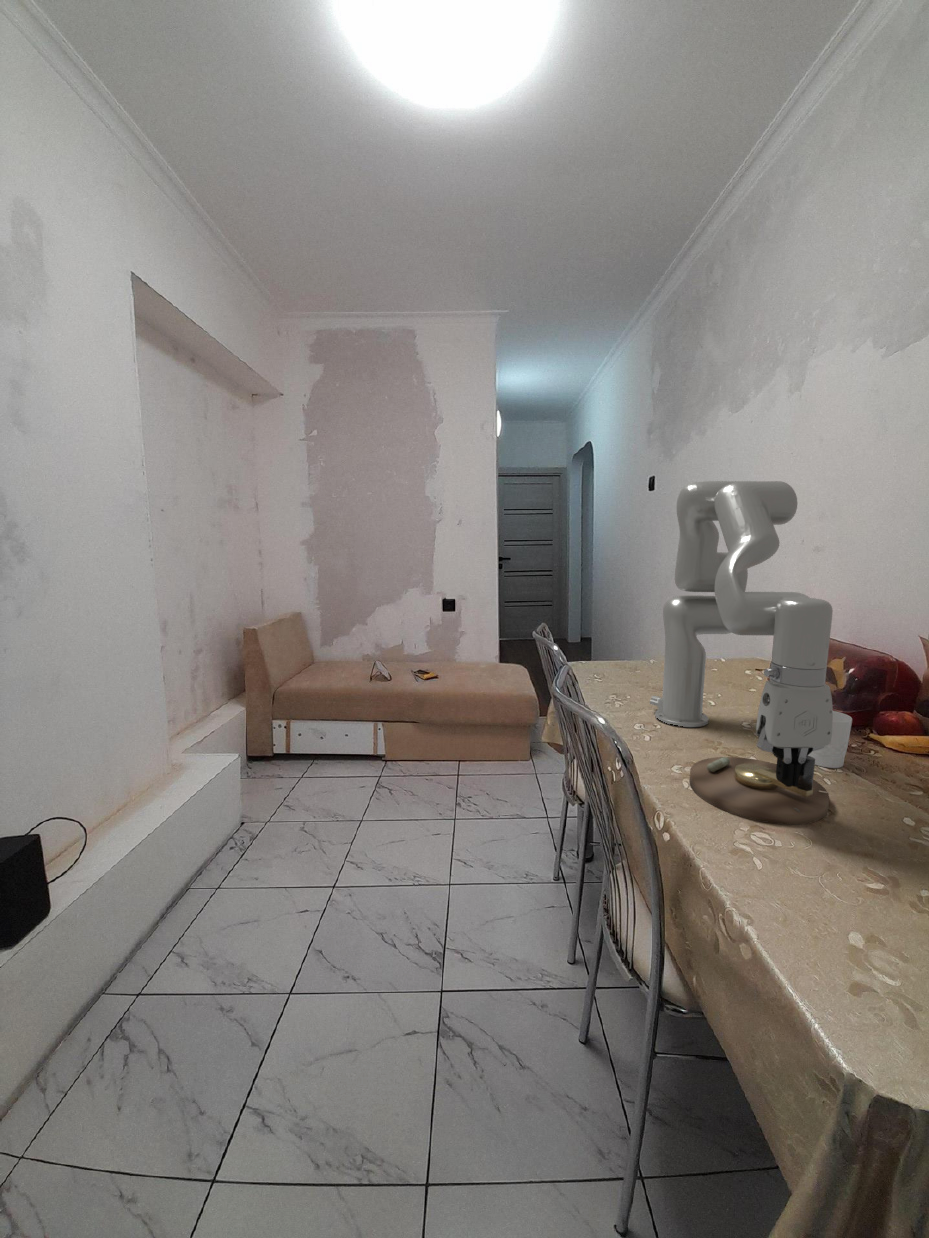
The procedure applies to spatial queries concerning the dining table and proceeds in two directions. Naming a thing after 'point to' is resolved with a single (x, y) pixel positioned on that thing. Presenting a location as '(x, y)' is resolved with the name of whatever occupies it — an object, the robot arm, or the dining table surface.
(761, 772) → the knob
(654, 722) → the dining table surface
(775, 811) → the base plate
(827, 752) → the white cup
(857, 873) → the dining table surface
